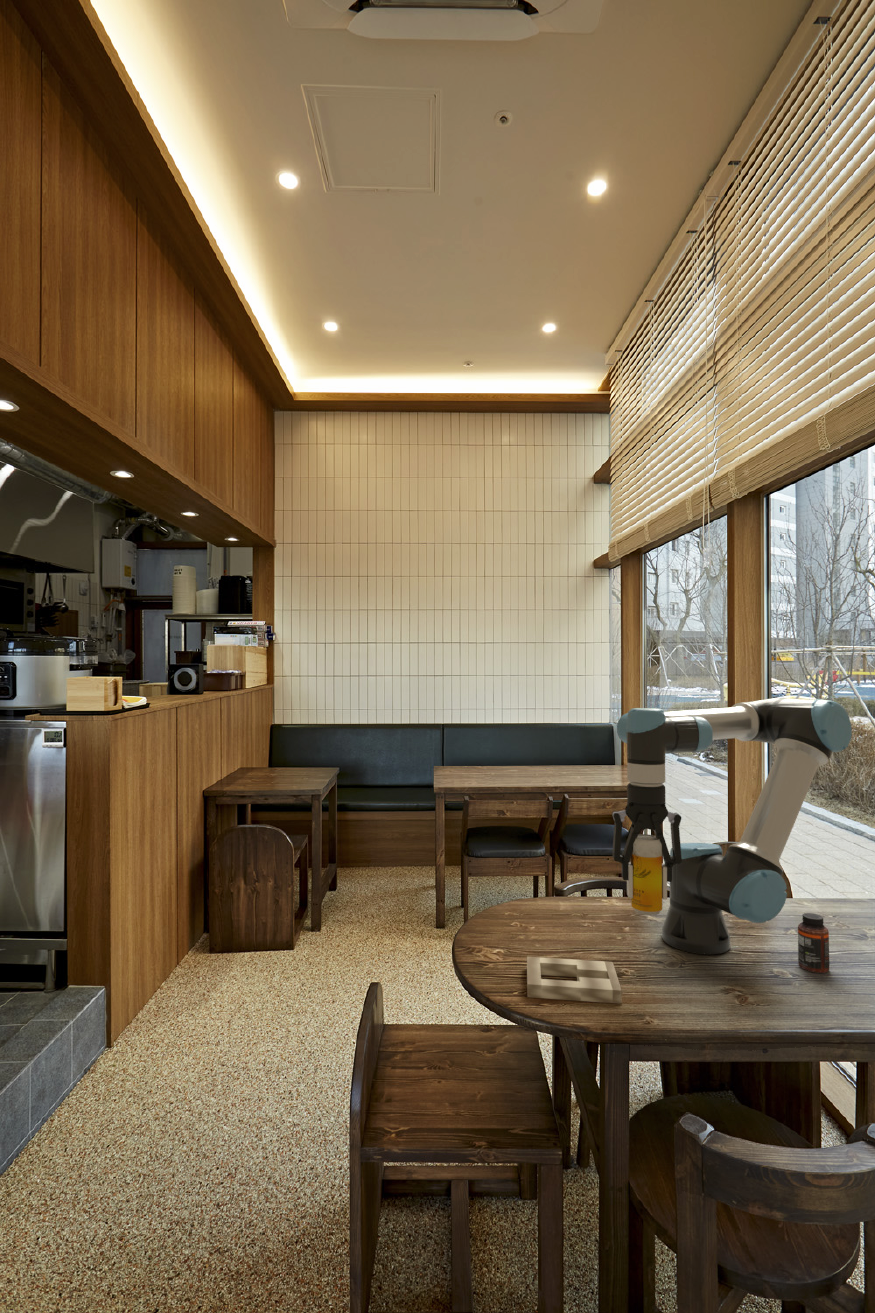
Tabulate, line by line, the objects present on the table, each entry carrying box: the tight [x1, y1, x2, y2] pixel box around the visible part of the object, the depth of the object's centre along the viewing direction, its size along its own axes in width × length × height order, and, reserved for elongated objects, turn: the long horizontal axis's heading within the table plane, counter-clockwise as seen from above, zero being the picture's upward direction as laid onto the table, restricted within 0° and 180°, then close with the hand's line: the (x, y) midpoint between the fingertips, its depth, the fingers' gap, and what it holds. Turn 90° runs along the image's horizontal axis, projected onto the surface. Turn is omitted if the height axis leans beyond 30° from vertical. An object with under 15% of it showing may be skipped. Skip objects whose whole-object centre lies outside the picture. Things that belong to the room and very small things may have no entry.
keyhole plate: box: [526, 956, 623, 1005], centre depth 136 cm, size 18×13×2 cm
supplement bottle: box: [797, 912, 830, 974], centre depth 145 cm, size 6×6×11 cm
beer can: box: [630, 833, 663, 916], centre depth 137 cm, size 6×6×15 cm
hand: (646, 896), depth 137 cm, fingers closed on beer can, 6 cm apart
